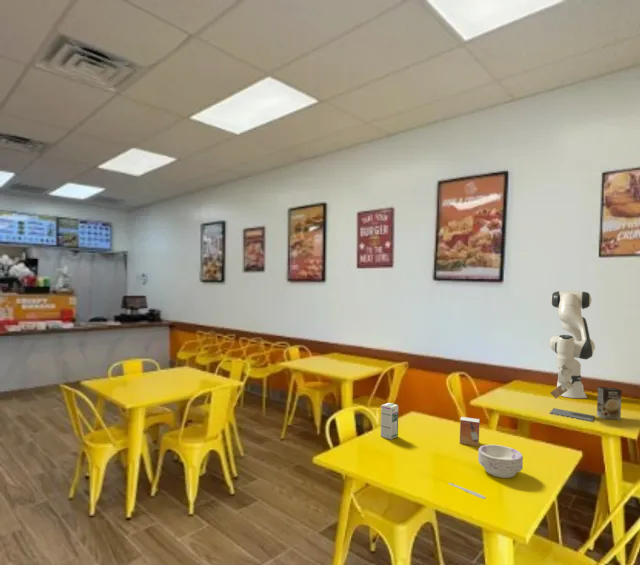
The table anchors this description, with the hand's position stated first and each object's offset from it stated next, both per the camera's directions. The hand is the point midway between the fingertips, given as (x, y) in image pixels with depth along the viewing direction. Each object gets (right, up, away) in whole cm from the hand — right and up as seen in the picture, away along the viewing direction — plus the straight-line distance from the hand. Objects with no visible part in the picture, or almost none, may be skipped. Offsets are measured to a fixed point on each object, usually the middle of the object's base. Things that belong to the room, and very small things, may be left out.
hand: (564, 388), depth 235 cm
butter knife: (-92, -11, -88) cm, 128 cm away
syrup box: (-106, -10, -45) cm, 115 cm away
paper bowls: (-70, -11, -79) cm, 106 cm away
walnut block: (-4, -4, +3) cm, 7 cm away
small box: (-71, -12, -50) cm, 87 cm away
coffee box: (+21, -15, -5) cm, 26 cm away
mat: (+3, -14, -2) cm, 14 cm away
